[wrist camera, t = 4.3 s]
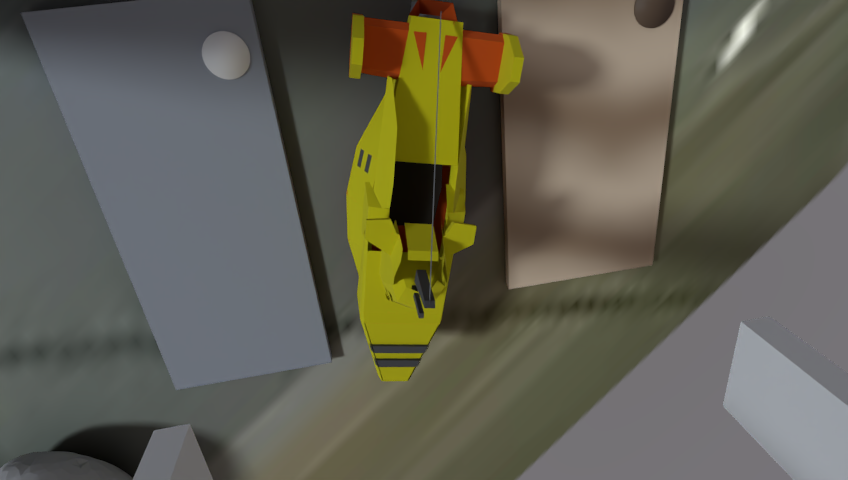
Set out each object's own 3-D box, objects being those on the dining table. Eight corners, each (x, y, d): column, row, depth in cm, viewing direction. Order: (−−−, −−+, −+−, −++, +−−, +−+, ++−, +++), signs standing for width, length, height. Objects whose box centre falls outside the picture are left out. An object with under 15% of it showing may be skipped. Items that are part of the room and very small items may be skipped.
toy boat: (488, 10, 24) (580, 14, 15) (438, 329, 31) (478, 462, 22) (351, -9, 22) (360, -18, 13) (332, 328, 30) (330, 468, 21)
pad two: (493, -117, 21) (498, -121, 21) (690, -135, 22) (700, -139, 22) (506, 284, 30) (509, 290, 30) (647, 260, 31) (653, 265, 30)
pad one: (28, 12, 21) (18, 12, 20) (249, -12, 22) (246, -12, 21) (179, 382, 30) (175, 391, 29) (331, 355, 30) (331, 363, 30)
